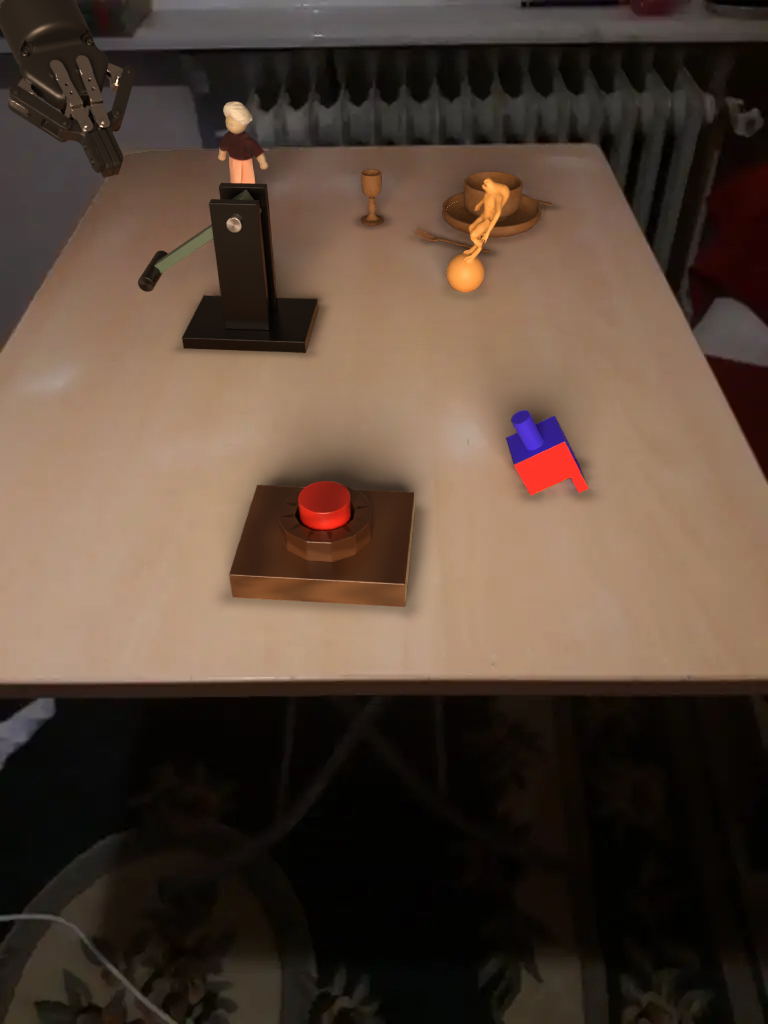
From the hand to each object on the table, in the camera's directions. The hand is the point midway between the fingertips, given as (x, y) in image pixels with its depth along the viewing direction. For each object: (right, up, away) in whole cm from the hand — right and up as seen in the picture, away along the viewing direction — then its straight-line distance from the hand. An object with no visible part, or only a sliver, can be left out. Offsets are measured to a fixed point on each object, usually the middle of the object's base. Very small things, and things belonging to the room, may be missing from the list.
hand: (113, 172), depth 90 cm
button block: (+22, -35, -21) cm, 46 cm away
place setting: (+35, +4, +27) cm, 45 cm away
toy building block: (+38, -30, -14) cm, 51 cm away
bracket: (+13, -14, +5) cm, 19 cm away
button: (+22, -33, -23) cm, 45 cm away
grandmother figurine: (+8, +6, +30) cm, 32 cm away
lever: (+9, -7, 0) cm, 12 cm away
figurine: (+35, -9, +12) cm, 38 cm away
